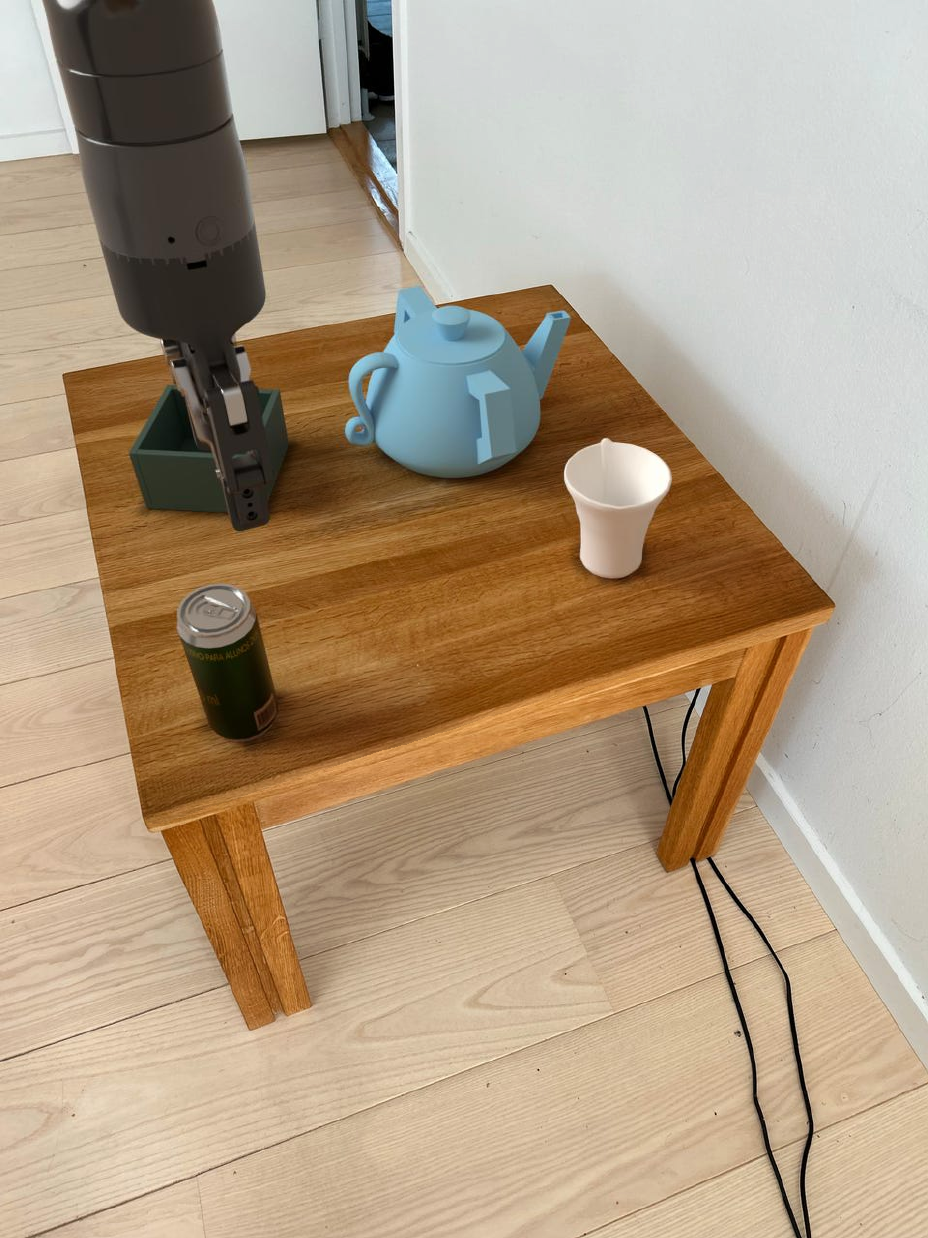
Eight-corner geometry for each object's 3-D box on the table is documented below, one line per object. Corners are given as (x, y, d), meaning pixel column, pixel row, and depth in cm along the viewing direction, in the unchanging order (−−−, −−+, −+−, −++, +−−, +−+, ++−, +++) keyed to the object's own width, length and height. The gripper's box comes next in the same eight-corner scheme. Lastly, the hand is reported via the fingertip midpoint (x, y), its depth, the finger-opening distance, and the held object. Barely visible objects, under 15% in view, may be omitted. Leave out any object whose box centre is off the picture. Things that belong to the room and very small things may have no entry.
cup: (643, 522, 87) (659, 433, 80) (664, 591, 81) (684, 502, 73) (550, 526, 87) (557, 437, 79) (563, 596, 80) (572, 507, 73)
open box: (146, 508, 89) (128, 453, 84) (181, 438, 97) (167, 384, 92) (263, 515, 88) (251, 459, 83) (289, 444, 96) (280, 389, 91)
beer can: (291, 700, 72) (267, 591, 64) (259, 753, 69) (229, 646, 60) (230, 683, 74) (198, 573, 65) (196, 734, 70) (157, 626, 62)
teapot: (500, 509, 88) (504, 382, 78) (324, 462, 94) (307, 337, 84) (566, 405, 100) (576, 284, 91) (406, 369, 106) (400, 250, 96)
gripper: (73, 178, 49) (146, 436, 60) (125, 296, 40) (199, 573, 51) (215, 157, 51) (259, 410, 62) (294, 265, 42) (328, 537, 54)
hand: (232, 483), depth 57 cm, fingers open, 8 cm apart
